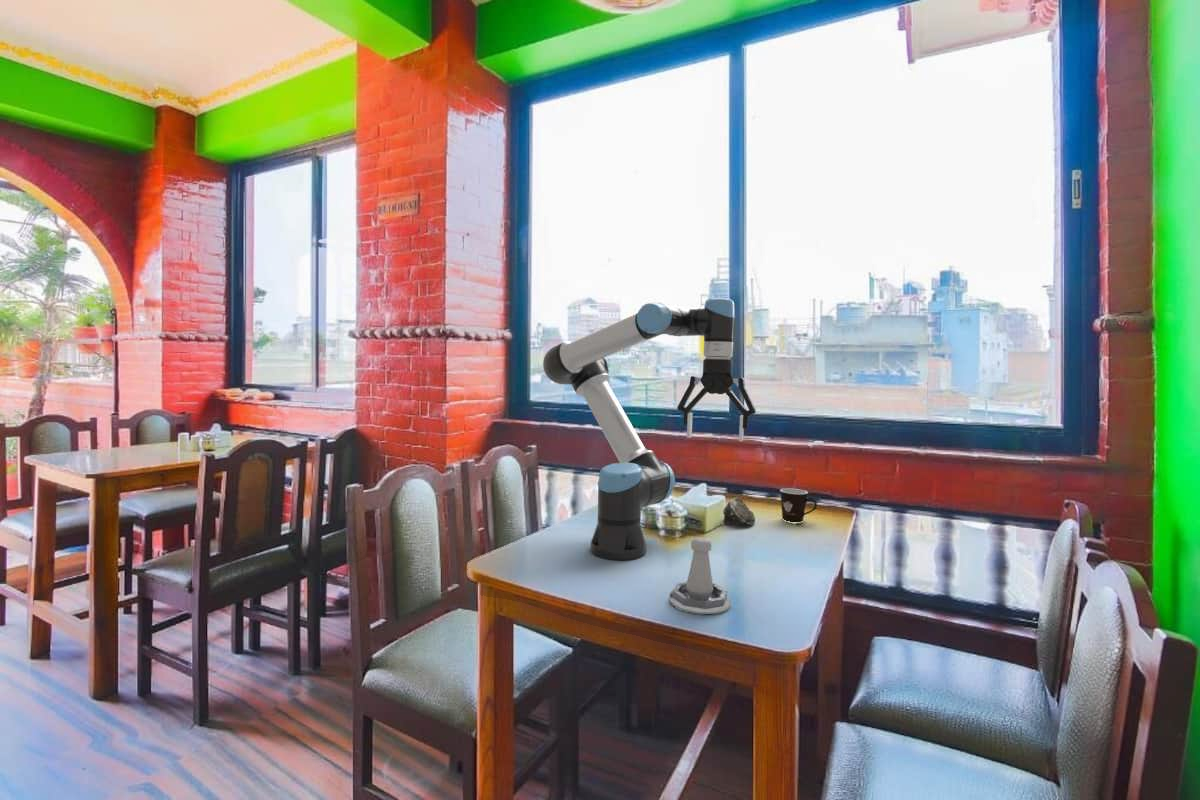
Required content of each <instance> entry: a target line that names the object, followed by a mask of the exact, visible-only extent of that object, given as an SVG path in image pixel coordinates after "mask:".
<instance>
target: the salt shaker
mask: <svg viewBox="0 0 1200 800" xmlns="http://www.w3.org/2000/svg"><path fill="white" fill-rule="evenodd" d="M690 545H691V550H693V553H692V558H691V563H690V566H689V567H690V568H689V572H688V577H687V581H686V582H687V584H686V587H687V591H688V594H689V597H690V598H695V599H701V600H708V599H709V598H710V596H711V594H712V592H713V584H714V583H713V576H712V569H711V562H710V554H709V552H710V551H711V550H712V542H711V540H710V539H708V538H705V537H694V538H693V539H692V540H691V544H690Z"/></svg>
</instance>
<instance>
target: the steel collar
mask: <svg viewBox="0 0 1200 800" xmlns="http://www.w3.org/2000/svg"><path fill="white" fill-rule="evenodd" d="M686 584H687V581H685V582H684V581H683V582H678V583H676V585H675V586H674V588H673V590H672V591H670V593H669V603H670V602H671V603H672V604H673V605H674V606H675V607H677V608H679V609H681V610H683V611H682V612H684V611H687V612H691V613H696V614H695V615H697V614H715V615H718V614H717V613H720V614H723V613H725V612H727V611H728V610H730V608H729V607H731V599H730V597H729V595H728V591H727V590H726V589H724V588H723V587H721V586H719V585H717V584H716V583H713V592H712V594H711V596H710V598H709V599H708V600H701V599H695V598H690V597H689V594H688V591H687V587H686ZM671 603H670V604H671ZM672 604H671V605H672ZM674 606H673V607H674ZM675 607H674V608H675ZM677 608H676V609H677ZM679 609H678V610H679ZM681 610H680V611H681ZM726 610H727V611H726ZM724 611H725V612H724ZM687 612H686V613H687ZM722 612H723V613H722ZM691 613H690V614H691Z"/></svg>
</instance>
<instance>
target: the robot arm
mask: <svg viewBox="0 0 1200 800" xmlns="http://www.w3.org/2000/svg"><path fill="white" fill-rule="evenodd" d="M735 318H736V315H735V303H734V300H733V299H730V298H725V297H724V298H723V297H721V298H720V297H714V298H713V297H712V298H707V299H705V304H704V306H702V307H685V306H679V305H670V304H664V303H660V302H648V303H645V304H643V305H642V306H641V307H640V309H639V310H638V311H637V313H635V314H633V315H631V316H628V317H626V318H624V319H622V320H618V322H615V323H612V324H611V325H608V326H606V327H603V328H601V329H599V330H597V331H594V332H592V333H590V334H588V335H586V336H583V337H581V338H579V339H577V340H575V341H571V340H566V341H564V342H562V343H559V344H557V345H555V346H553V347H552V348H550V349H549V350H548V351H547V352H546V353H545V354H544V357H543V360H542V361H543V362H542V367H543V371H544V374H545V376H546V377H547V378H548V379H549V380H550V381H552V382H553V383H554V384H558V385H571V387H572V388H573V390H574V392H575V393H576V395H577V396H579V397H582V398H584V400H585V402H586V404H587V405H588V407H589V409H590V411H591V412H592V415H593V416H594V419H595V420H596V422H597V423H598V425H599V427H600V428H601V432H603V435H604V437H605V439H606V440H607V441H608V443H609V445H610V447H611V449H612V450H613V452H614V455H615V456H616V458H617V460H618V462H617V463H616V462H615V463H610V464H608V465H605V466H603V467H602V468H601V469H600V471H599V475H598V481H597V486H598V490H597V491H598V492H597V493H598V494H597V523H596V527H595V529H594V532H593V536H592V538H591V541H590V552H591V554H593V555H595V556H597V557H599V558H602V559H607V560H612V561H613V560H614V561H615V560H616V561H627V560H629V561H630V560H636V559H639V558H641V557H643V556H645V555H646V553H647V542H646V539H645V535H644V532H643V529H642V524H641V521H642V520H641V519H642V518H641V516H642V513H641V512H642V508H645V507H648V506H652V505H658V504H660V503H662V501H665V500H667V499H668V498H669V497H670V496H671V495H672V494H673V491H674V489H675V484H676V482H675V481H676V478H675V474H674V473H675V472H674V471H673V469H672V468H671V466H670V465H669V464H668V463H666V462H663V461H661V460H658V457H657V456H656V453H655V452H654V451H653V450H650V449H647V448H646V447H645V445H644V444H643V442H642V440H641V438H640V437H639V435H638V433H637V431H636V430H635V428H634V426H633V425H632V422H631V421H630V419H629V417H628V415H627V414H626V412H625V411H624V408H623V407H622V405H621V403H620V401H619V400H618V398H617V396H616V395H615V393H614V391H613V390H612V388H611V386H610V384H609V382H610V379H611V377H610V374H609V372H610V369H609V367H610V363H609V359H608V357H609V356H612V355H614V354H616V353H619V352H621V351H625V350H626V349H629V348H632V347H634V346H636V345H638V344H642V343H644V342H646V341H648V340H651V339H653V338H656V337H659V336H662V335H668V336H670V337H671V336H672V337H673V336H674V337H693V336H702V337H703V338H704V339H703V357H705V358H704V359H703V360H702V363H703V364H702V375H701V377H699V376H696V375H692V376H690V379H689V384H688V386H687V388H686V391H685V392H684V393H683V396H682V398H681V400H680V401H679V403H678V405H677V407H676V409H677V410H678V411H681V412H682V413H683V425H685V426H686V438H687V439H688V438H689V439H690V438H692V436H693V412H691V411H692V409H694V407H695V406H696V405H697V404H698V403H699V402H700V401H701V399H703V397H704V396H705V395H707V393H708V394H709V395H715V394H717V395H724V394H726V396H728V398H729V399H730V400H731V402H732V403H733V404H734V405H735V407H736V408H737V410H739V411H740V413H741V414H742V415H739V427H738V428H739V430H738V431H739V435H738V442H740V443H741V442H743V441H744V430H745V429H748V427H749V417H750V415H751V416H752V415H755V414H756V412H757V409H756V407H755V405H754V404H753V401H752V399H751V397H750V395H749V393H748V389H747V388H746V386H745V378H744V377H739V378H738V377H737V378H733V360H732V359H731V358H733V357H734V356H733V354H734V328H735V327H734V325H735ZM699 383H701V384H702V385H703V386H702V387H703V388H702V389H701V390H700V391H699V392H698V394H697V395H696V396H695V397H694V398H693V399H692V400H691V401H690V402H689V403H688V405H686V404H687V402H688V400H689V399H690V397H691V395H692V393H693V391H694V389H695V388H696V385H697V386H698V385H699ZM733 384H735V385H736V387H738V389H739V392H740V394H741V395H742V397H743V400H744V402H745V404H746V406H747V408H748V409H747V408H746V407H745V406H744V405H743V403H742V402H741V400H739V398H738V397H737V395H735V393H734V392H733V390H732V389H731V387H732V386H733Z"/></svg>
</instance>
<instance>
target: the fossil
mask: <svg viewBox="0 0 1200 800" xmlns="http://www.w3.org/2000/svg"><path fill="white" fill-rule="evenodd" d="M722 512H723V525H724V524H726V525H730V524H735V523H736V524H737V523H738V524H741V525H742V526H744V527H747V526H750V527H752V526H753V525H754V524H755V522H756V517H755V515H754V512H753V511H751V510H750V508H749V507H748V505H747V504H746V503H745V502H744V501H743V500H742V499H741V498H739V497H734V498H731V499H730V500H729V501H728V503H727V504H726V506H725V507H724V508H723V511H722Z"/></svg>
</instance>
